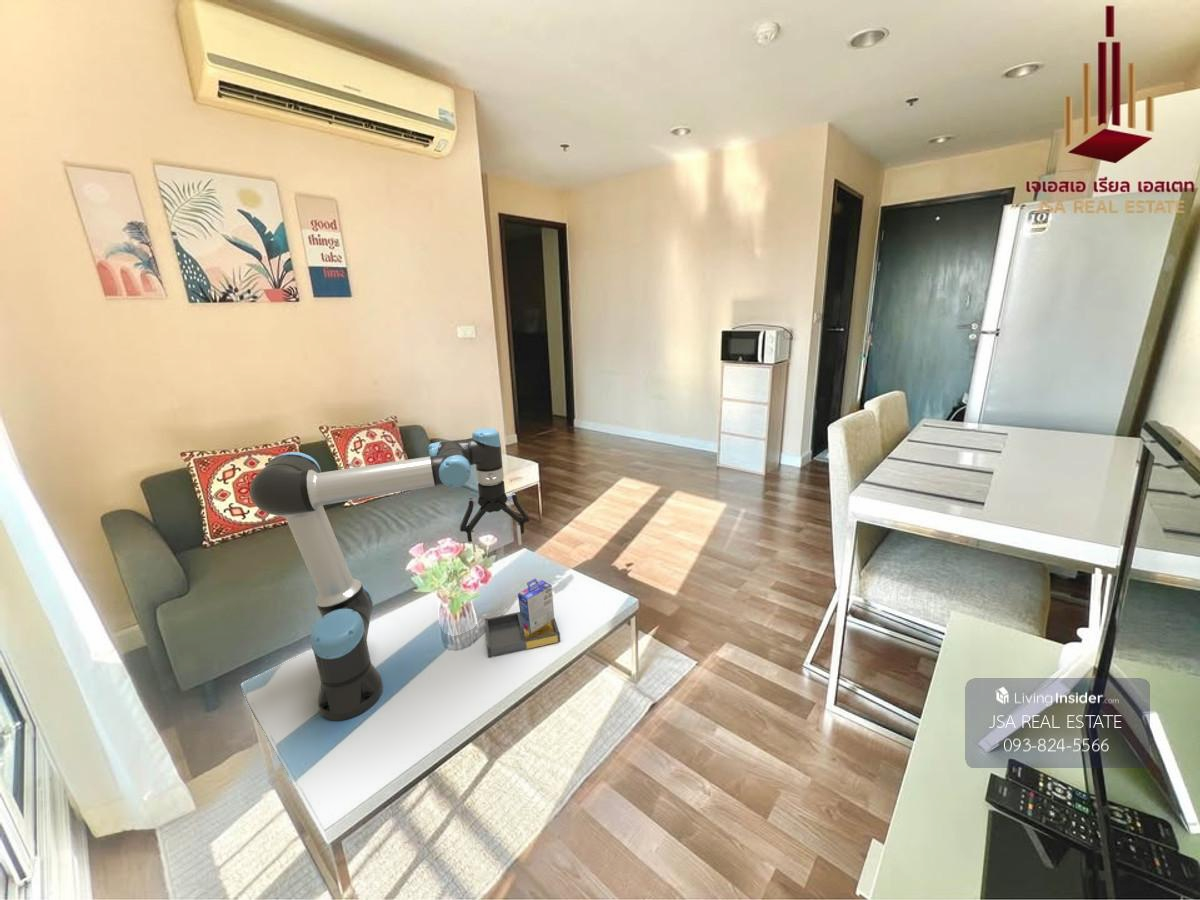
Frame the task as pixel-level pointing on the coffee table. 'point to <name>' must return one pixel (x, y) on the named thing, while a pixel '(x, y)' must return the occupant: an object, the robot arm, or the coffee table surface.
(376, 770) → the coffee table surface
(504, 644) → the tray
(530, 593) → the ink cartridge box
